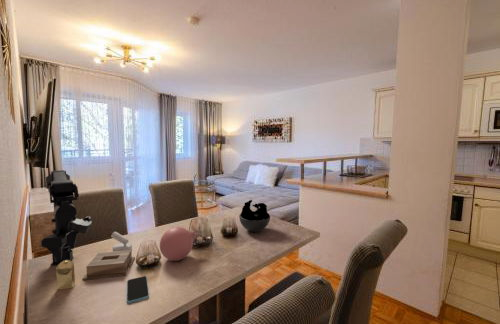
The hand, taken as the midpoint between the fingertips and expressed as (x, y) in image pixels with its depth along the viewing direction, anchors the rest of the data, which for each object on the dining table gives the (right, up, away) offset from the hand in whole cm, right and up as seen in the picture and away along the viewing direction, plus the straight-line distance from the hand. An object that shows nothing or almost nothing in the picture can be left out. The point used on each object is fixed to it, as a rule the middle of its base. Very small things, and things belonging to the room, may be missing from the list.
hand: (66, 254), depth 88 cm
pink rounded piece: (+37, -12, +25) cm, 46 cm away
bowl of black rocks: (+74, -10, +60) cm, 96 cm away
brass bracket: (0, -13, +1) cm, 13 cm away
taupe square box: (+9, -12, +14) cm, 20 cm away
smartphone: (+27, -14, 0) cm, 31 cm away
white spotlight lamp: (+4, -11, +31) cm, 33 cm away
